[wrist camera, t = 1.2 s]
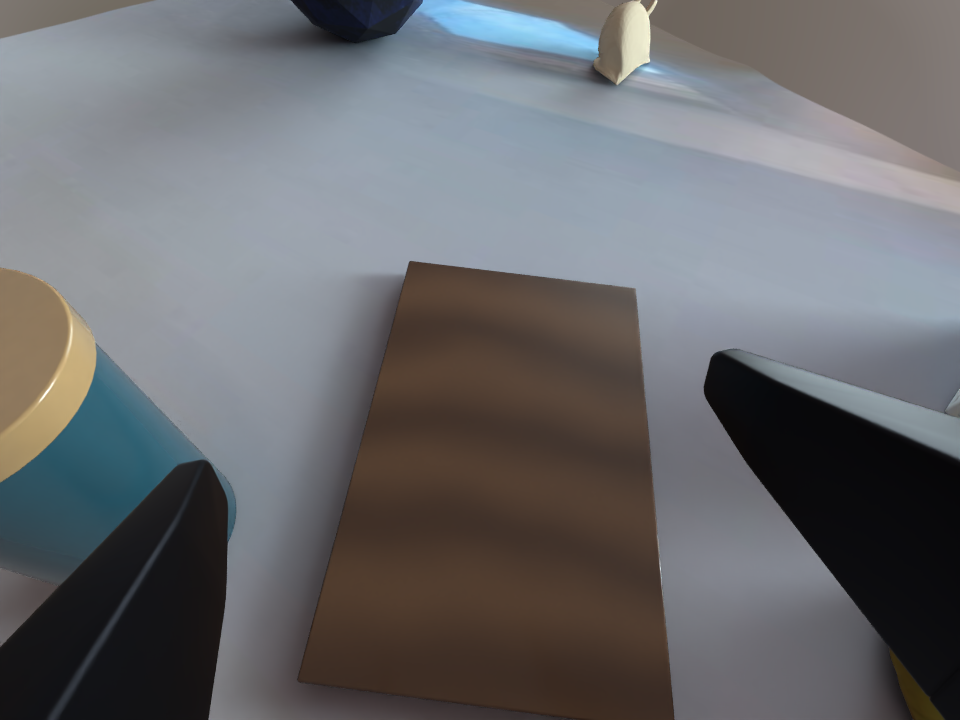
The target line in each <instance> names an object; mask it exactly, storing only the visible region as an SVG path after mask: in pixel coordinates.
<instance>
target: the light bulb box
mask: <svg viewBox="0 0 960 720" xmlns="http://www.w3.org/2000/svg"><path fill="white" fill-rule="evenodd" d="M945 412H946V413H947V414H948V415H951V416H954V417H958V418H960V389H959V390H958V392H957V393H956V395H955V396H954V398H953V399H952V401H951V402H950V404H949V405H948V407H947V408H946V410H945Z"/></svg>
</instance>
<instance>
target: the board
mask: <svg viewBox="0 0 960 720" xmlns="http://www.w3.org/2000/svg"><path fill="white" fill-rule="evenodd" d="M297 681H298V682H300V683H307V684H314V685H321V686H329V687H336V688H344V689H351V690H359V691H366V692H374V693H381V694H389V695H396V696H404V697H411V698H419V699H426V700H433V701H441V702H448V703H456V704H463V705H471V706H478V707H486V708H493V709H501V710H508V711H516V712H523V713H530V714H538V715H545V716H553V717H560V718H568V719H575V720H674V709H673V698H672V687H671V676H670V664H669V653H668V642H667V631H666V620H665V609H664V598H663V587H662V576H661V565H660V554H659V542H658V531H657V520H656V509H655V498H654V487H653V476H652V465H651V454H650V443H649V432H648V421H647V409H646V398H645V387H644V376H643V365H642V354H641V343H640V332H639V321H638V310H637V299H636V289H635V288H630V287H621V286H613V285H605V284H596V283H588V282H580V281H572V280H563V279H555V278H547V277H538V276H530V275H522V274H514V273H505V272H497V271H489V270H480V269H472V268H464V267H456V266H447V265H439V264H431V263H422V262H414V261H410V262H409V265H408V268H407V272H406V276H405V279H404V283H403V287H402V291H401V294H400V298H399V302H398V306H397V309H396V313H395V317H394V320H393V324H392V328H391V332H390V335H389V339H388V343H387V347H386V350H385V354H384V358H383V361H382V365H381V369H380V373H379V376H378V380H377V384H376V388H375V391H374V395H373V399H372V402H371V406H370V410H369V414H368V417H367V421H366V425H365V429H364V432H363V436H362V440H361V443H360V447H359V451H358V455H357V458H356V462H355V466H354V469H353V473H352V477H351V481H350V484H349V488H348V492H347V496H346V499H345V503H344V507H343V510H342V514H341V518H340V522H339V525H338V529H337V533H336V537H335V540H334V544H333V548H332V551H331V555H330V559H329V563H328V566H327V570H326V574H325V578H324V581H323V585H322V589H321V592H320V596H319V600H318V604H317V607H316V611H315V615H314V619H313V622H312V626H311V630H310V633H309V637H308V641H307V645H306V648H305V652H304V656H303V660H302V663H301V667H300V671H299V674H298V678H297Z"/></svg>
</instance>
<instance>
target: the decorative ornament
mask: <svg viewBox="0 0 960 720" xmlns="http://www.w3.org/2000/svg"><path fill="white" fill-rule="evenodd" d="M640 1H641V0H634V1H629V2H626V3H622V4H620V5H619V6H617V7H615V8H614V9H613V11H612V12H611V13H610V14H609V16H608V18H607V20H606V22H605V23H604V25H603V28H602V31H601V35H600V38H599V47H598V51H599V57H598V58H596V59H595V60H594V63H593V66H594V67H595V69H596V70H597V71H599V72H600V73H601V74H603V75H604V76H605V77H607V78H608V79H609V80H611V81H612V82H613V83H615V84H616V85H618V84H619V83H620V82H621V81H622V80H623V79H624V78H626V77H627V76H628V75H629V74H630V73H631V72H632V71H634V70H635V69H636V68H637V67H639V66H640V65H642V64H644V63H649V62H650V58H649V49H650V22H649V18H648V16H649V15H650V13H651V12H652V11H653V9H654V7H655V6H656V3H657V0H651V2H650V4H649V5H648V7H647V8H646V9H645V8H644V7H643V5H642V4H640V3H639V2H640Z"/></svg>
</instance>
